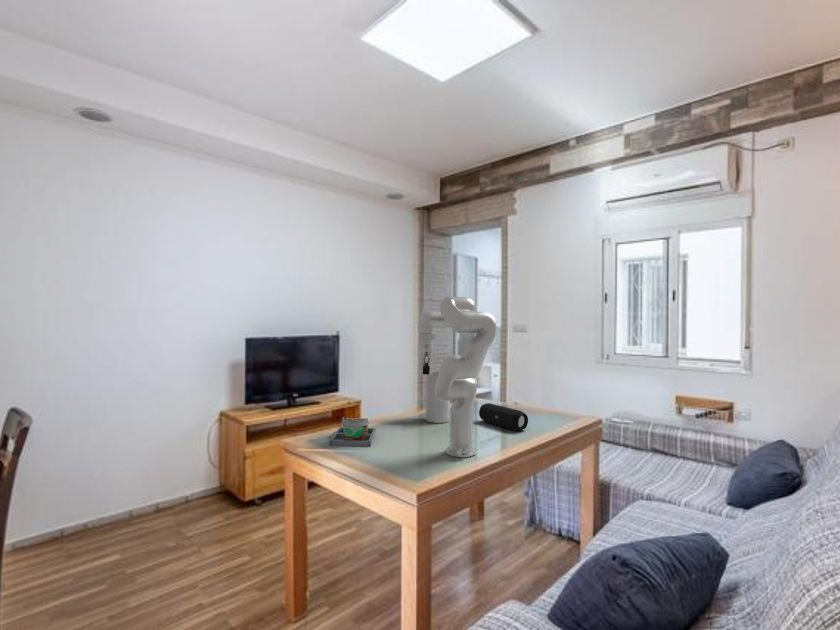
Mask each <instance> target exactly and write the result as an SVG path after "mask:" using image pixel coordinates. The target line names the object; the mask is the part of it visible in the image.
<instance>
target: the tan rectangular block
mask: <svg viewBox="0 0 840 630" xmlns="http://www.w3.org/2000/svg"><path fill="white" fill-rule="evenodd" d="M345 419H357V420H360V421H364V420H367V419H368V418H360V417H345ZM368 425H369V424H368ZM368 425H367V432H366V434H368V428H369V426H368Z"/></svg>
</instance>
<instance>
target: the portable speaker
mask: <svg viewBox="0 0 840 630" xmlns="http://www.w3.org/2000/svg"><path fill="white" fill-rule="evenodd" d="M478 416H479V418H480V419H481V420H482V421H483V422H484V423H487V422H488V423H487V424H491V425H494V424H495V426H498V425H499V426H498V427H501V426H503V427H502V428H505V427H507V428H506V429H508V428H511V429H510V430H512V429H515V430H520V431H524V430H526V428H527V426H528V424H529V417H528V414H526V413H525V412H523V410H519V409H515V408H511V407H506V406H503V405H499V404H496V403H495V404H494V403H491V402H490V403H489V402H487V403H483V404H481V405H480V407H479V410H478ZM523 429H524V430H523ZM515 430H514V431H515Z"/></svg>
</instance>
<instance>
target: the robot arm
mask: <svg viewBox="0 0 840 630" xmlns="http://www.w3.org/2000/svg"><path fill="white" fill-rule="evenodd" d="M475 310H476V304H475V302H474V301H473V300H472V299H471V298H468V297H463V296H446V297H444V298H442V300H440V303H439V311H438V310H437V311H436V310H435V311H434V310H430V311H429V310H428V311H426V310H424V311H420V313H419V324H418V325H419V326H418V327H419V328H418V331H419V332H418V335H419V337H418V340H419V341H421V350H420V351H421V361H422V362H423V363H422V375H426V376H427V375H429V373H430V372H431V370H430V369H431V368H430V362H432V361H433V353H434V351H433V349H434V347H433V345H434V344H433V341H435V339H436V328H450V329H451V330H452V331H454V332H456V333H457V334H475V335H474V336H473V337H472V338H471V339H470V340H469V341H468V342H467V343H466V346H465V349H464V351H463V353H461V354H453V355H448V356H446V357H445V358H444V359H443V360H442V363H441V366H440V369H439V371H438V372H439V374H438V377H437V380H436V384H435V395H436V397H437V398H438V399H439V400H441V401H453V402H452V405H451V406H450V414H449V440H448V441H449V445H448V446H447V447H446V448H445V454H447V455H448V456H451V457H454V458H470V456H471V457H473V455H474V456H475V455H476V454H477V450H476V449H475V448H474V447H473V440H474V439H473V435H474V434H473V433H474V432H473V431H474V413H475V411H474V410H475V408H474V407H475V400H476V396H477V391H478V389H477V388H478V386H477V382H476V380H475V378H476V377H478V375H479V374H480V371H481V370H482V366H483V364H484V361H485V359H486V356H487V353H488V351H489V349H490V347H491V345H492V344H493V343H494V340H495V338H496V335H497V322H496V318H495V317H494V316H493V315H492V314H491V313H488V312H485V311H475Z"/></svg>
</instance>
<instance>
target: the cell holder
mask: <svg viewBox="0 0 840 630" xmlns="http://www.w3.org/2000/svg"><path fill="white" fill-rule="evenodd" d="M376 433H377V428H375V427H368V434H366V440H365V441H354V440H344V432H343V426H339V427H338V429H337V430H336V431H335V433H334V434H333V436H332V437H331V439H329V446H333V447H334V446H336V447H337V446H341V447H367V448H369V447H372V444H373V442H374V439H375V435H376Z"/></svg>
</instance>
